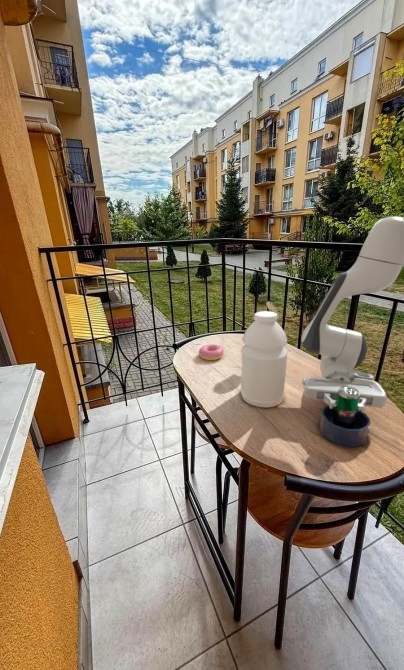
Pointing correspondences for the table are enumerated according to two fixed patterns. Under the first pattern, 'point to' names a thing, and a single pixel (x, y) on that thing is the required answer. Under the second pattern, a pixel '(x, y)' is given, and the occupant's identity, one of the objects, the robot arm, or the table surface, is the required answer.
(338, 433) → the bowl
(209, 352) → the doughnut
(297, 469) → the table surface
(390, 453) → the table surface
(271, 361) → the bottle
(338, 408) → the soda can
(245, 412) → the table surface
